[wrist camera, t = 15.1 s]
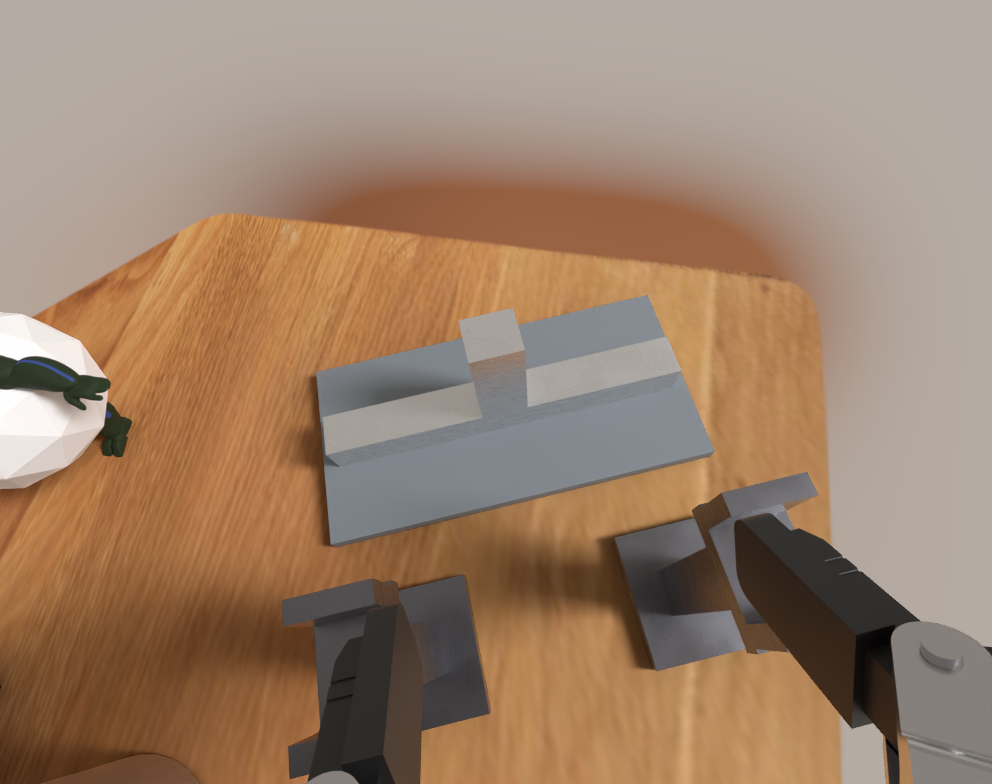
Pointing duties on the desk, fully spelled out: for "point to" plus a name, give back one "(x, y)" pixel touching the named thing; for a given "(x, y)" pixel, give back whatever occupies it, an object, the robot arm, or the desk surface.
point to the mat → (504, 431)
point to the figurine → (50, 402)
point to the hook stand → (651, 585)
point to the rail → (499, 392)
